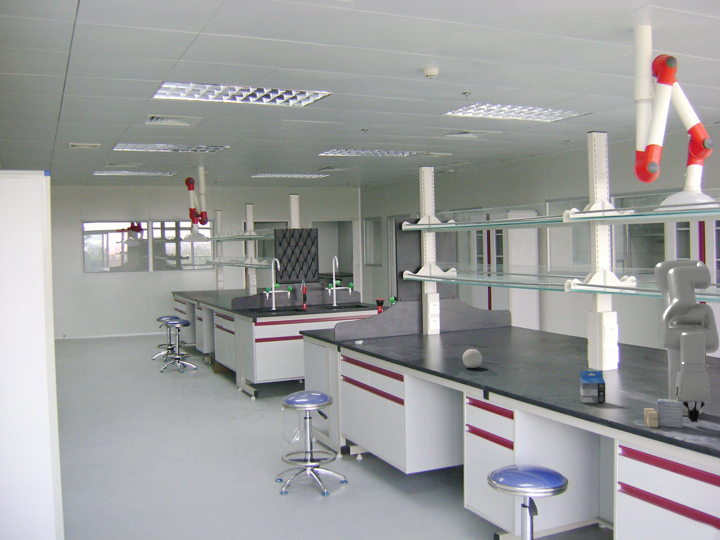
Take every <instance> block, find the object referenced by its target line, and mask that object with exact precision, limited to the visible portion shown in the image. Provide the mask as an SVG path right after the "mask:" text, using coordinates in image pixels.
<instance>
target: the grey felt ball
mask: <svg viewBox="0 0 720 540" xmlns="http://www.w3.org/2000/svg"><path fill="white" fill-rule="evenodd" d="M482 361H483V355H482V354H481V352H480V351H479V350H478V349H474V348H469V349H467V350H466V351H464V352H463V354H462V363H463V365H464V366H466V367H467V368H469V369H476V368H478V367H479V366H481V364H482Z"/></svg>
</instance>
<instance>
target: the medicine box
mask: <svg viewBox="0 0 720 540" xmlns="http://www.w3.org/2000/svg"><path fill="white" fill-rule="evenodd" d="M656 406H657V407H656V409H657V411H656V412H657V413H658V427H667V428H668V427H669V428H680V429H683V428H684V415H683V402H682V401H677V400H670V399H669V398H667V399H666V398H657V403H656Z"/></svg>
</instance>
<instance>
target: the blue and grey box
mask: <svg viewBox="0 0 720 540" xmlns="http://www.w3.org/2000/svg"><path fill="white" fill-rule="evenodd" d="M579 372H580V379H579V381H580V382H579V385H580V387H579V389H580V390H579V391H580V392H579V393H580V394H579V395H580V397H579V399H580V402H581V403H582V404H606V382H605V380H604V378H603V377H604V376H603V371H602V370H580V371H579ZM591 374H592V375H591Z"/></svg>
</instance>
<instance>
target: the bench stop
mask: <svg viewBox="0 0 720 540" xmlns="http://www.w3.org/2000/svg"><path fill="white" fill-rule="evenodd" d="M643 412H644V413H643V415H644V417H643V419H644V422H643V423H644V424H645V425H646V426H647V427H648V428H658V427H659V426H658V413H657V411H656V409H655V408H651V407H650V408H649V407H646V408H645V407H644V408H643Z"/></svg>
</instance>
